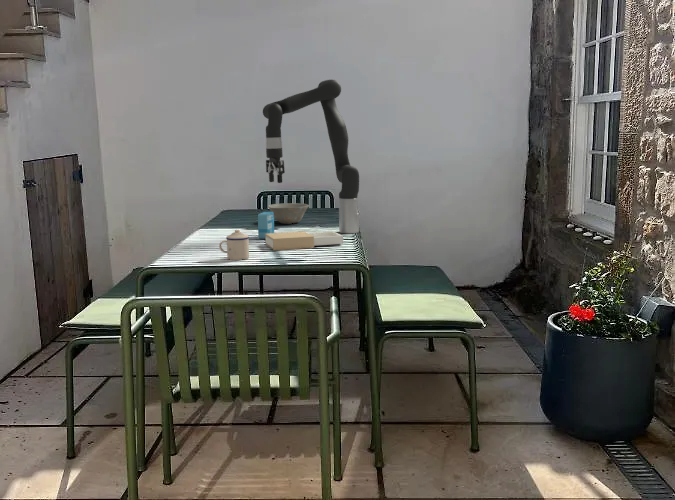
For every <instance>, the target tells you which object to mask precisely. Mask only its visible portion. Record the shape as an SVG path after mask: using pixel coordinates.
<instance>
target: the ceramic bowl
mask: <svg viewBox="0 0 675 500" xmlns="http://www.w3.org/2000/svg"><path fill="white" fill-rule="evenodd" d="M267 207H268V209H269V212H273V213H274V220H276V221H277V222H279V223H280V224H283V225H292V223H293V224H296V223H299V222H301V221H302V220H303V216H304V215H305V213H306V211H307V209H309V207H310V205H309V204H307V203H296V202H295V203H291V202H290V203H287V202H286V203H285V202H284V203H282V202H281V203H273V204H269V205H268V206H267Z"/></svg>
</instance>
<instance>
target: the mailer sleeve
mask: <svg viewBox="0 0 675 500" xmlns="http://www.w3.org/2000/svg"><path fill="white" fill-rule="evenodd" d="M308 233H309V232H307V231H303V230H302V231H288V232H274V233H268V234H265V239H264V240H265V246H267V247H268V248H270V249H271V250H273V251H283V250H286V251H287V250H298V249H300V250H301V249H312V248H315V246H314V236H312V235H310V234H308ZM266 236H268V237H270V238H271V239H273V248H272V247H270V246H269V245H268V244H266Z"/></svg>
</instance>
